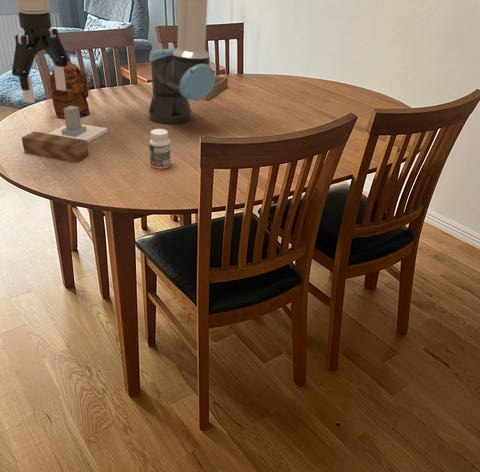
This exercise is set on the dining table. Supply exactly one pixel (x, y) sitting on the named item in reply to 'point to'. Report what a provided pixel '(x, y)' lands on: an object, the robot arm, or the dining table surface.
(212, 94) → the wooden tray
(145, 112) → the dining table surface
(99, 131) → the fulcrum
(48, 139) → the bar
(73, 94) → the wooden figurine
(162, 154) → the pill bottle
